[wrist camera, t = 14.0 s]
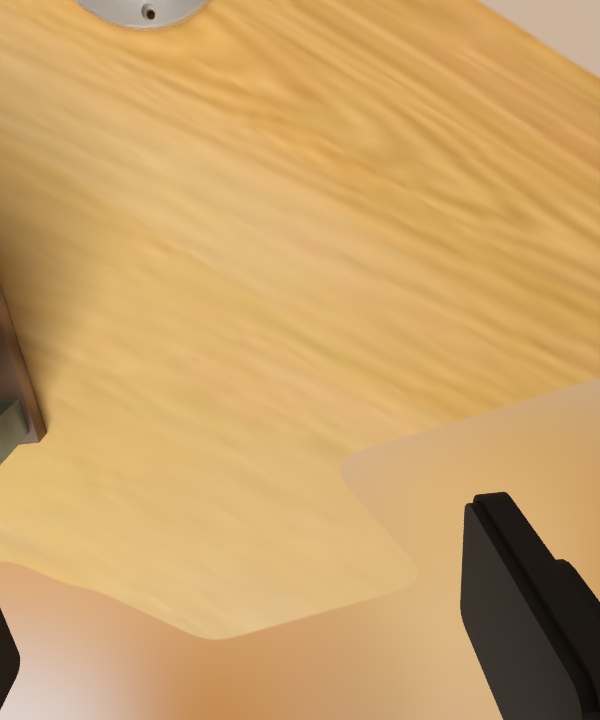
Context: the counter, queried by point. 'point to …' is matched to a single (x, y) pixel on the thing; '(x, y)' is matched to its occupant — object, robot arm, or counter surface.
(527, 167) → the counter surface
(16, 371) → the post board
